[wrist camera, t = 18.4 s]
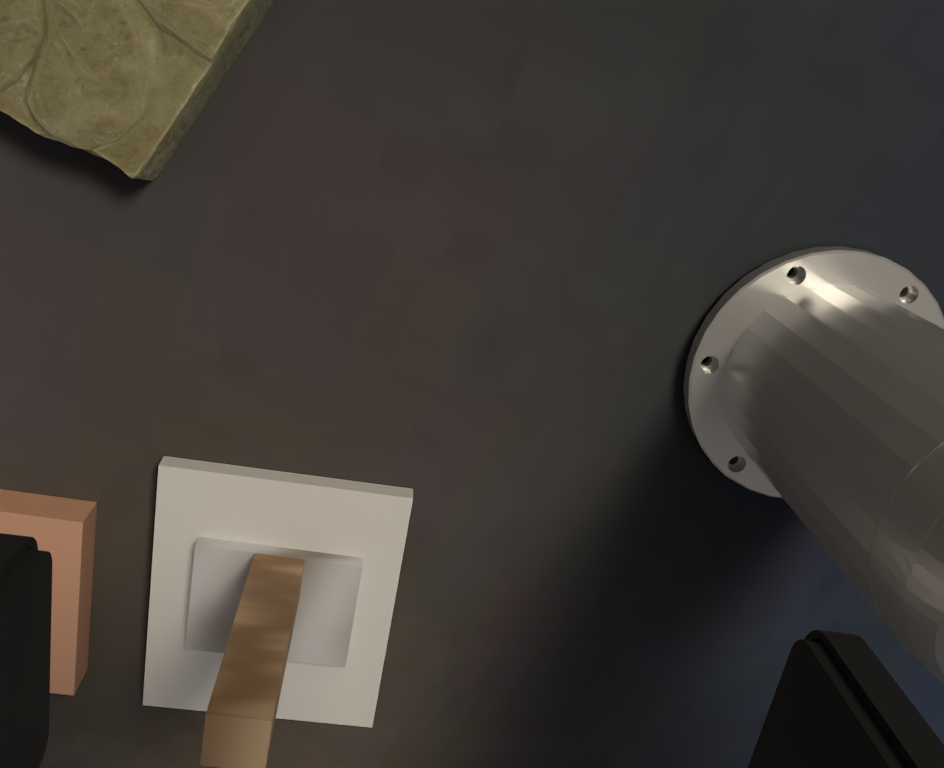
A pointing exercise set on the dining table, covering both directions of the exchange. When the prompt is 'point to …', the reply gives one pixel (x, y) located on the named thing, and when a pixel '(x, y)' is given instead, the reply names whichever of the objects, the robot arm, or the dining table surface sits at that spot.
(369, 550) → the mat
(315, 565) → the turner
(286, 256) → the dining table surface
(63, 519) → the terracotta tile
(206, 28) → the mineral wool slab
